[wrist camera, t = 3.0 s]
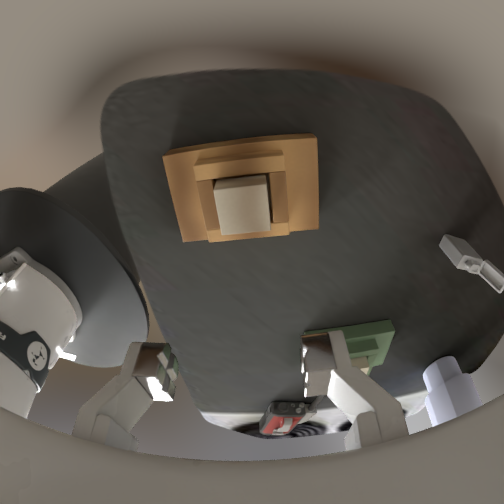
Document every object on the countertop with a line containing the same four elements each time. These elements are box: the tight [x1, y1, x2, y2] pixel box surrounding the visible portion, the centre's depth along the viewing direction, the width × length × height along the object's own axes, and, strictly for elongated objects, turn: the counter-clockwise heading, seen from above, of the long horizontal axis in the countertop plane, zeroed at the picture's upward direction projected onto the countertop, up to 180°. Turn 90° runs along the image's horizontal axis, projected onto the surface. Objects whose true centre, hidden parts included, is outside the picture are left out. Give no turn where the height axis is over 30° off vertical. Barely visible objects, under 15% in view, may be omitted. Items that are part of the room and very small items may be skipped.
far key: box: [351, 356, 369, 375], centre depth 33 cm, size 4×4×2 cm
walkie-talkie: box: [259, 395, 325, 435], centre depth 46 cm, size 9×4×20 cm
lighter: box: [439, 234, 504, 293], centre depth 24 cm, size 7×2×8 cm, turn 79°
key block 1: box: [162, 133, 319, 242], centre depth 23 cm, size 12×8×4 cm, turn 96°
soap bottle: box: [423, 356, 483, 427], centre depth 33 cm, size 10×10×24 cm
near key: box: [213, 175, 271, 235], centre depth 20 cm, size 4×4×2 cm
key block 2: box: [304, 319, 395, 375], centre depth 35 cm, size 12×8×4 cm, turn 96°
